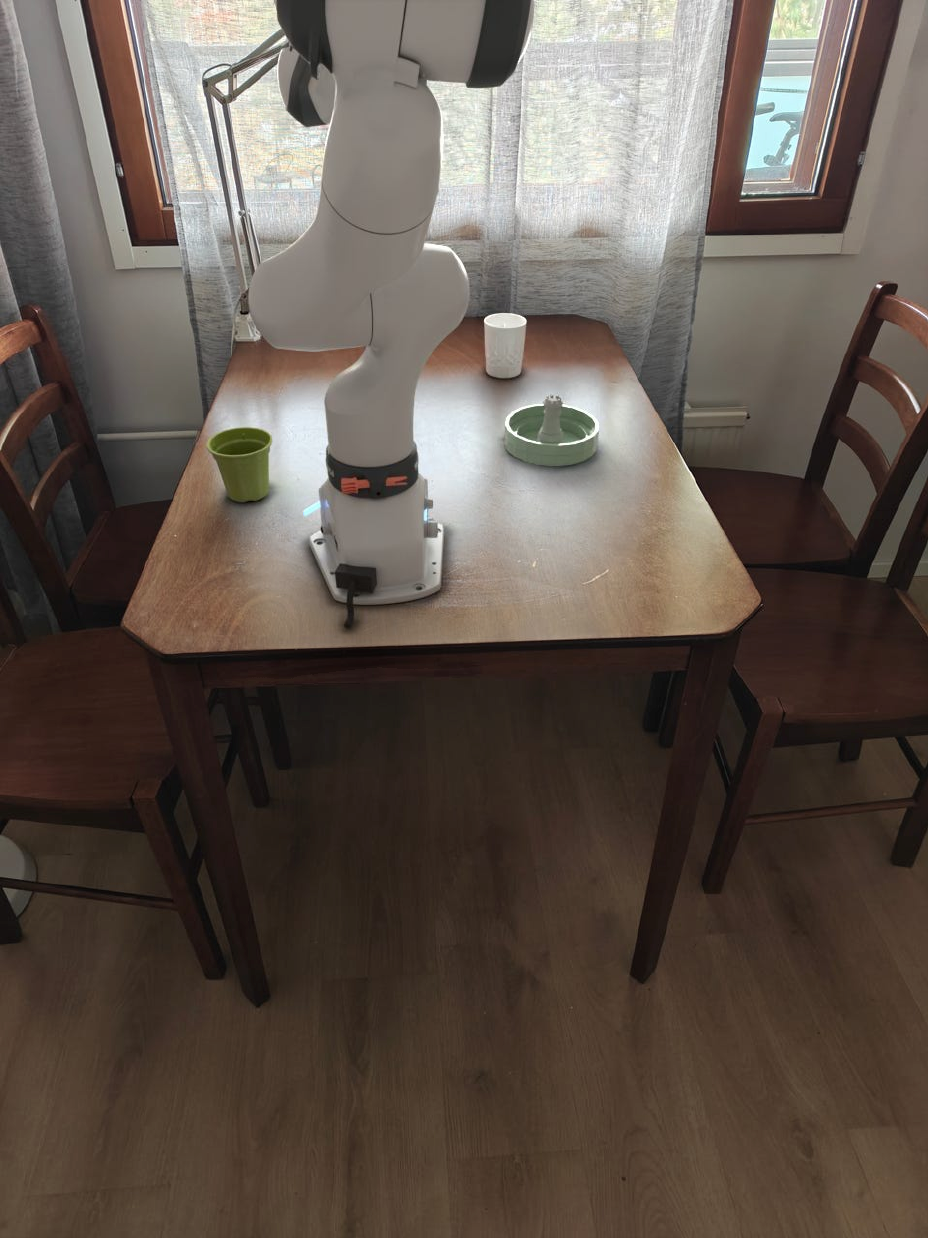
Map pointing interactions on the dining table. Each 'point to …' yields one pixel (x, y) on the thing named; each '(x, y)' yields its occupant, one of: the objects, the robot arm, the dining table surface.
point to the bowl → (524, 445)
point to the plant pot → (243, 461)
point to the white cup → (504, 344)
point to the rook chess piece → (551, 421)
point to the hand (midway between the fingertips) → (386, 244)
